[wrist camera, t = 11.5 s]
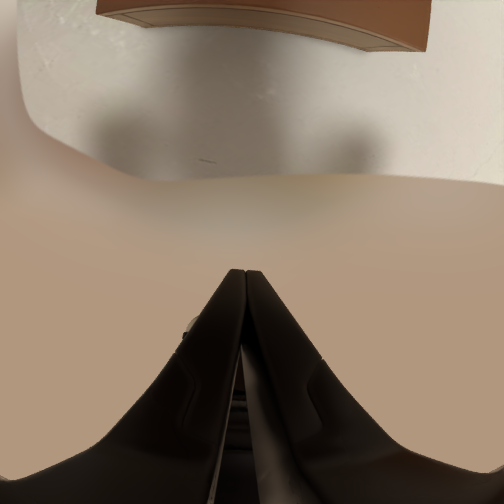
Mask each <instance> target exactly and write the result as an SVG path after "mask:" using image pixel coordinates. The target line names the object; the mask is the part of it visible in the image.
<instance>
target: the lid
mask: <svg viewBox="0 0 504 504" xmlns="http://www.w3.org/2000/svg"><path fill="white" fill-rule="evenodd" d="M431 1H432V0H97V6H96V14H97V15H101V16H108V15H113V14H120V13H126V12H134V11H142V10H152V9H165V8H189V7H212V8H235V9H248V10H259V11H267V12H275V13H282V14H288V15H294V16H300V17H305V18H310V19H315V20H320V21H324V22H328V23H332V24H336V25H340V26H344V27H348V28H351V29H355V30H358V31H361V32H365V33H368V34H371V35H374V36H377V37H380V38H383V39H386V40H388V41H391V42H394V43H396V44H399V45H402V46H404V47H407V48H409V49H411V50H414V51H416V52H426V48H427V40H428V32H429V24H430V13H431Z"/></svg>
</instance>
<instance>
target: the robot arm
mask: <svg viewBox="0 0 504 504" xmlns="http://www.w3.org/2000/svg"><path fill="white" fill-rule="evenodd" d="M182 339H183V340H182V342H181V343H180V345H179V346H178V348H177V349H176V351H175V353H174V354H173V355H172V356H171V358H170V359H169V361H168V362H167V364H166V365H165V367H164V368H163V369H162V371H161V372H160V374H159V375H158V376H157V378H156V379H155V380H154V382H153V383H152V384H151V385H150V386H149V388H148V389H147V390H146V391H145V392H144V394H143V395H142V396H141V397H140V398H139V399H138V400H137V401H136V403H135V404H134V405H133V406H132V407H131V408H130V409H129V410H128V411H127V413H126V414H125V415H124V416H123V417H122V418H121V419H120V420H119V421H118V423H117V424H116V425H115V426H114V427H113V428H112V429H111V430H110V431H109V432H108V433H107V435H105V437H103V438H102V439H101V440H100V441H99V442H97V443H96V444H95V445H94V446H92V447H90V448H89V449H87V450H85V451H83V452H81V453H79V454H77V455H75V456H73V457H71V458H68V459H66V460H64V461H62V462H60V463H58V464H56V465H53V466H51V467H49V468H46V469H44V470H42V471H39V472H37V473H34V474H32V475H30V476H27V477H25V478H21V479H18V480H8V479H6V478H4V477H2V476H0V504H504V465H503V466H501V467H499V468H497V469H495V470H493V471H491V472H489V473H478V472H472V471H469V470H466V469H462V468H458V467H456V466H453V465H449V464H446V463H443V462H440V461H437V460H435V459H431V458H428V457H426V456H423V455H421V454H418V453H415V452H413V451H410V450H408V449H406V448H404V447H403V446H401V445H400V444H398V443H397V442H396V441H394V440H393V439H392V438H391V437H390V436H389V435H388V434H387V433H386V432H385V431H384V430H383V429H382V428H381V427H380V426H379V425H378V424H377V423H376V421H375V420H374V419H372V417H371V416H370V415H369V414H368V413H367V412H366V411H365V410H364V409H363V407H362V406H361V405H360V404H359V403H358V402H357V401H356V400H355V399H354V398H353V396H352V395H351V394H350V393H349V392H348V391H347V389H346V388H345V387H344V386H343V385H342V383H341V382H340V381H339V380H338V378H337V377H336V376H335V374H334V373H333V372H332V370H331V369H330V368H329V366H328V365H327V363H326V362H325V361H324V359H322V357H321V355H320V354H319V352H318V351H317V350H316V348H315V347H314V345H313V344H312V342H311V341H310V340H309V338H308V337H307V336H306V334H305V333H304V331H303V330H302V328H301V327H300V326H299V324H298V323H297V321H296V320H295V319H294V317H293V316H292V314H291V313H290V312H289V310H288V309H287V307H286V306H285V304H284V303H283V302H282V301H281V299H280V298H279V296H278V295H277V293H276V292H275V290H274V289H273V288H272V286H271V285H270V283H269V282H268V281H267V279H266V278H265V276H264V275H263V273H262V272H261V271H253V270H247V271H246V273H245V271H244V270H239V269H231V270H230V271H229V272H228V273H227V275H226V276H225V278H224V279H223V281H222V282H221V284H220V285H219V287H218V288H217V290H216V291H215V293H214V294H213V296H212V297H211V298H210V300H209V301H208V303H207V305H206V306H205V307H204V309H203V310H202V312H201V313H200V315H199V316H198V318H197V319H196V321H195V322H194V324H193V325H192V327H191V328H190V330H189V331H188V332H184V333H183V337H182ZM321 359H322V360H321Z"/></svg>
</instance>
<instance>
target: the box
mask: <svg viewBox="0 0 504 504" xmlns="http://www.w3.org/2000/svg"><path fill="white" fill-rule="evenodd" d="M105 17H109V18H113V19H116V20H120V21H124V22H128V23H131V24H134V25H138V26H141V27H144V28H150V27H164V26H227V27H242V28H253V29H262V30H270V31H278V32H285V33H291V34H297V35H302V36H308V37H313V38H317V39H322V40H326V41H331V42H335V43H339V44H343V45H347V46H350V47H354V48H357V49H361V50H364V51H368V52H378V51H403V52H416V51H414V50H411V49H409V48H407V47H404V46H402V45H399V44H396V43H394V42H391V41H388V40H386V39H383V38H380V37H377V36H374V35H371V34H368V33H365V32H361V31H358V30H355V29H351V28H348V27H344V26H340V25H336V24H332V23H328V22H324V21H320V20H315V19H310V18H305V17H300V16H294V15H288V14H282V13H275V12H267V11H259V10H248V9H235V8H212V7H189V8H165V9H152V10H142V11H134V12H126V13H120V14H113V15H108V16H105Z"/></svg>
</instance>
